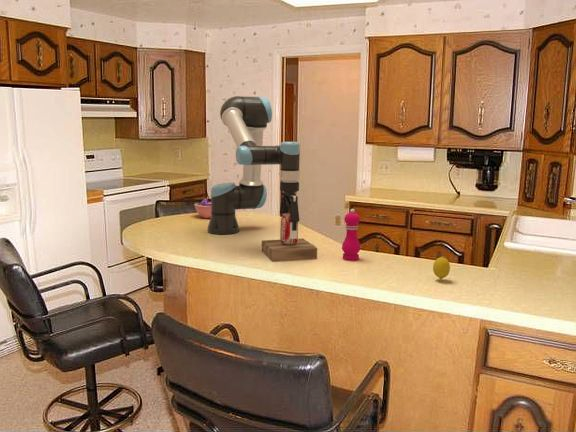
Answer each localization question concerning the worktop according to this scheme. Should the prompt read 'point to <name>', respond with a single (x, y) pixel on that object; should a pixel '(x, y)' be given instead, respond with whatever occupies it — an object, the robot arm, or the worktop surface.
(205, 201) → the cell model
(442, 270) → the lemon
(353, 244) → the pepper mill
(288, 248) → the walnut board
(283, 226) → the soda can
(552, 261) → the worktop surface
